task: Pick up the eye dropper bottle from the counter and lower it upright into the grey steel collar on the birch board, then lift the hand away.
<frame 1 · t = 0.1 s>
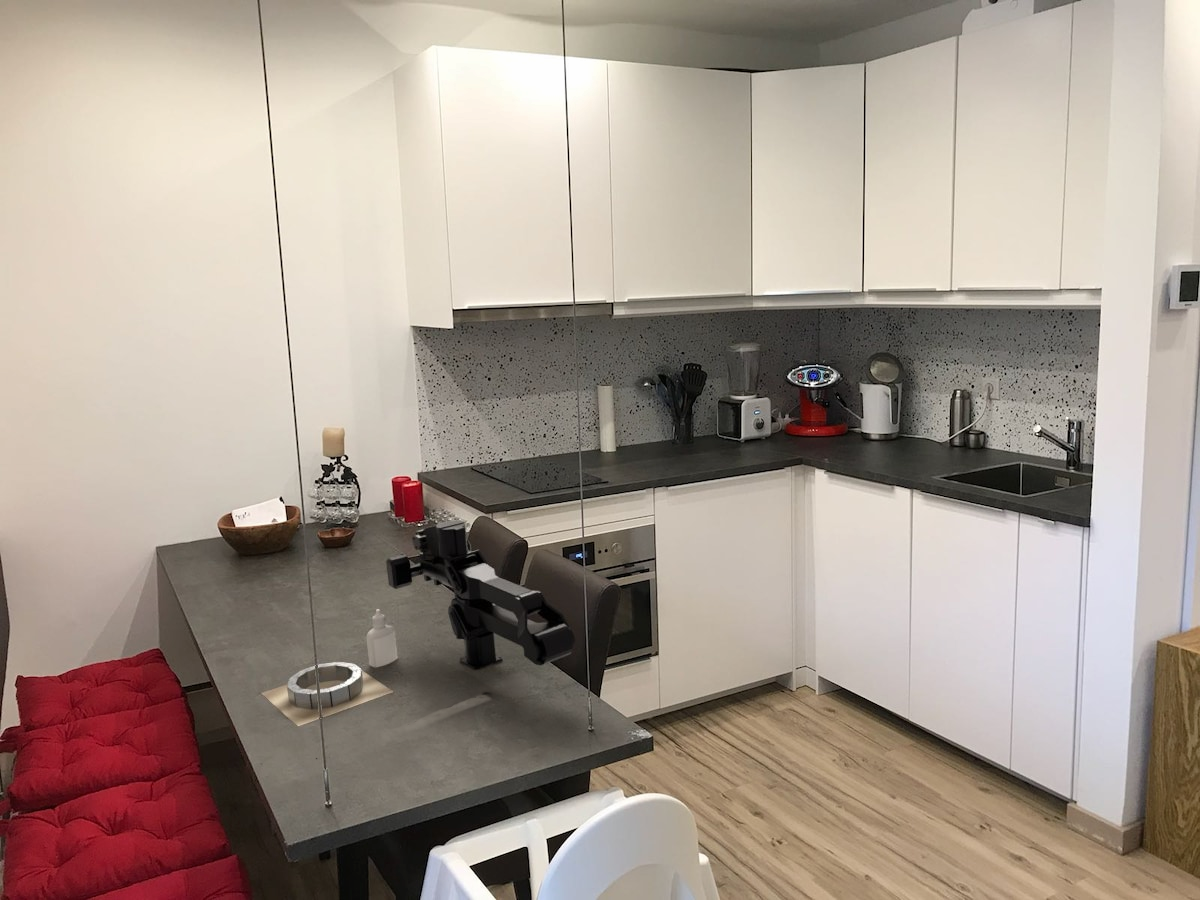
hand: (411, 555, 202), 17 cm above the table, tool horizontal, fingers open, 9 cm apart
steel collar: (326, 692, 174), resting on birch board
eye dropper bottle: (384, 667, 186), on the table
birch board: (327, 698, 174), on the table
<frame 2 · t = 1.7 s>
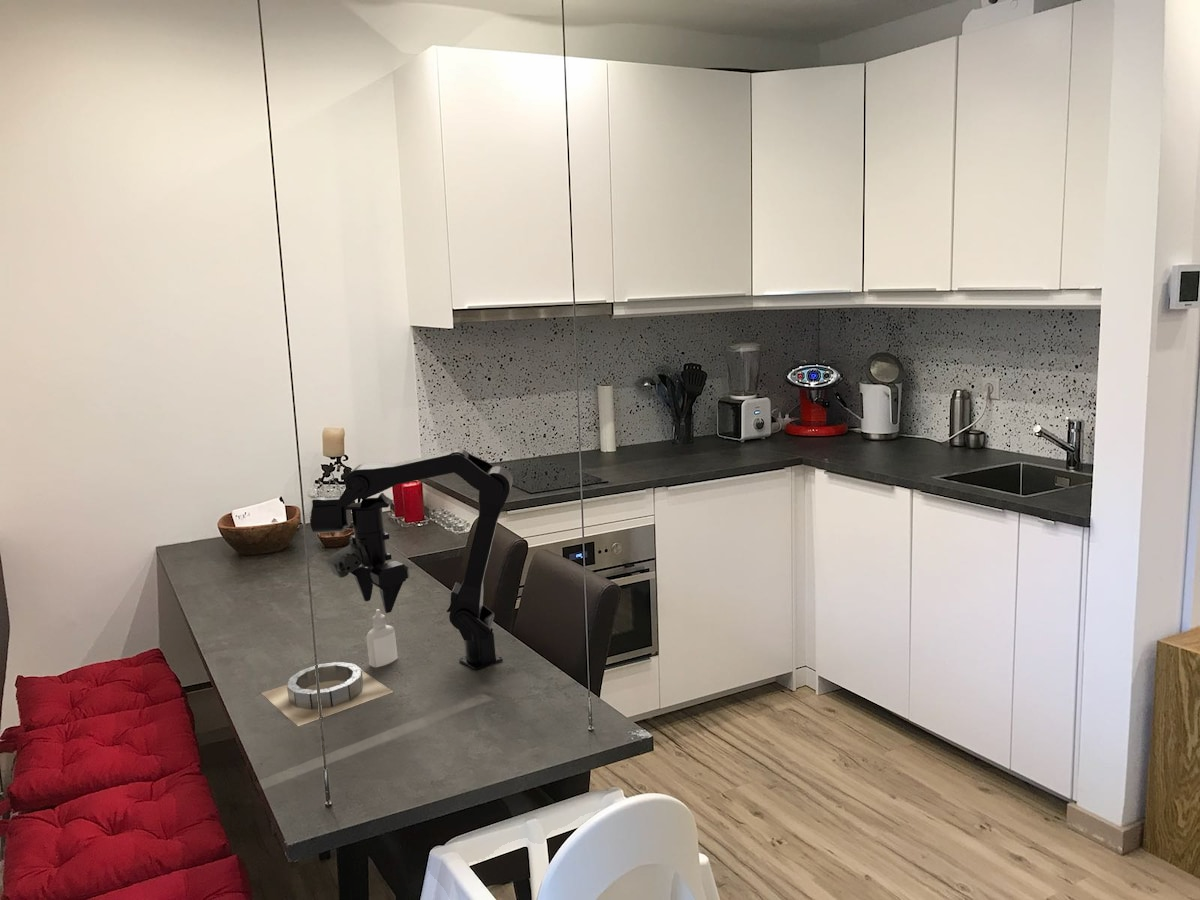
hand: (377, 606, 184), 13 cm above the table, tool pointing down, fingers open, 9 cm apart
nothing on the table moved.
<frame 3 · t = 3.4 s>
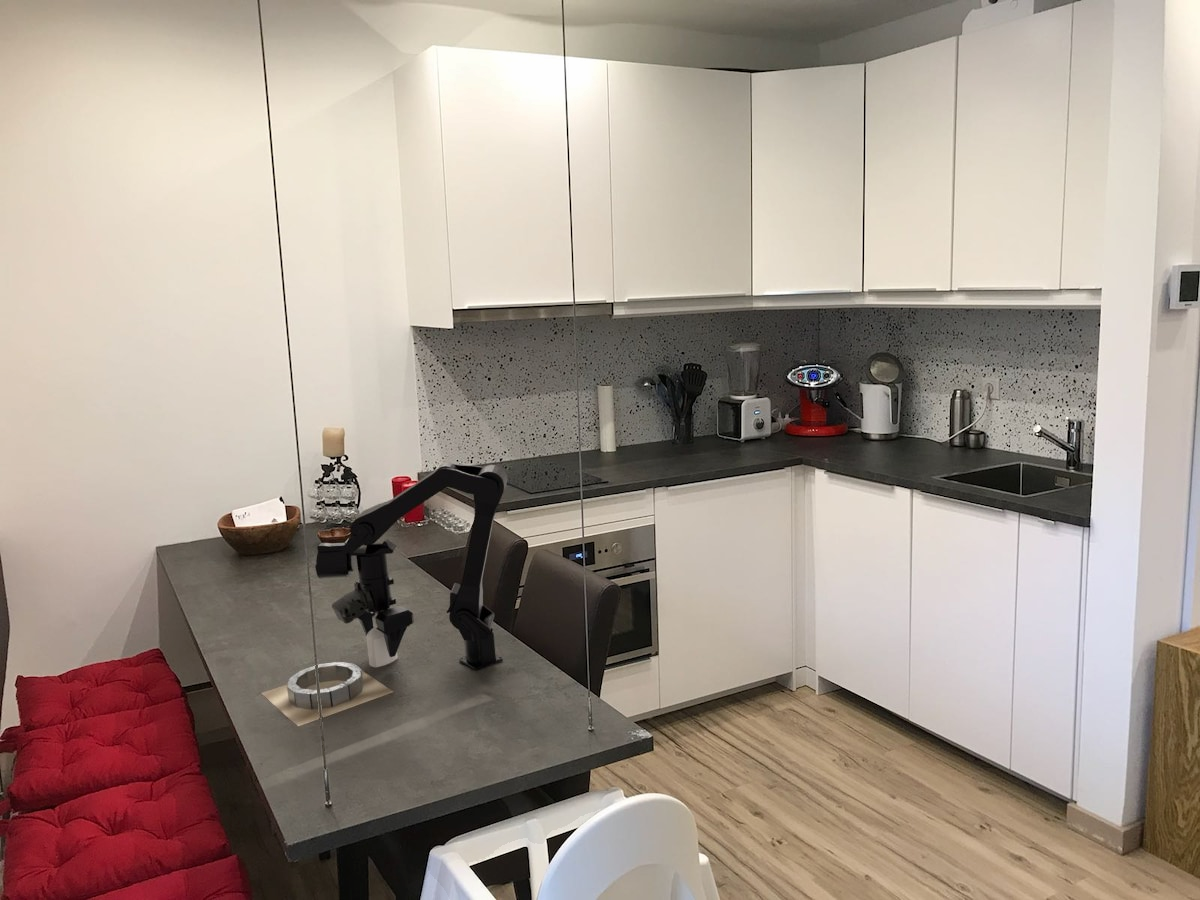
hand: (382, 650, 186), 4 cm above the table, tool pointing down, fingers closed on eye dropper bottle, 8 cm apart
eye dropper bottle: (384, 667, 186), on the table, touching gripper
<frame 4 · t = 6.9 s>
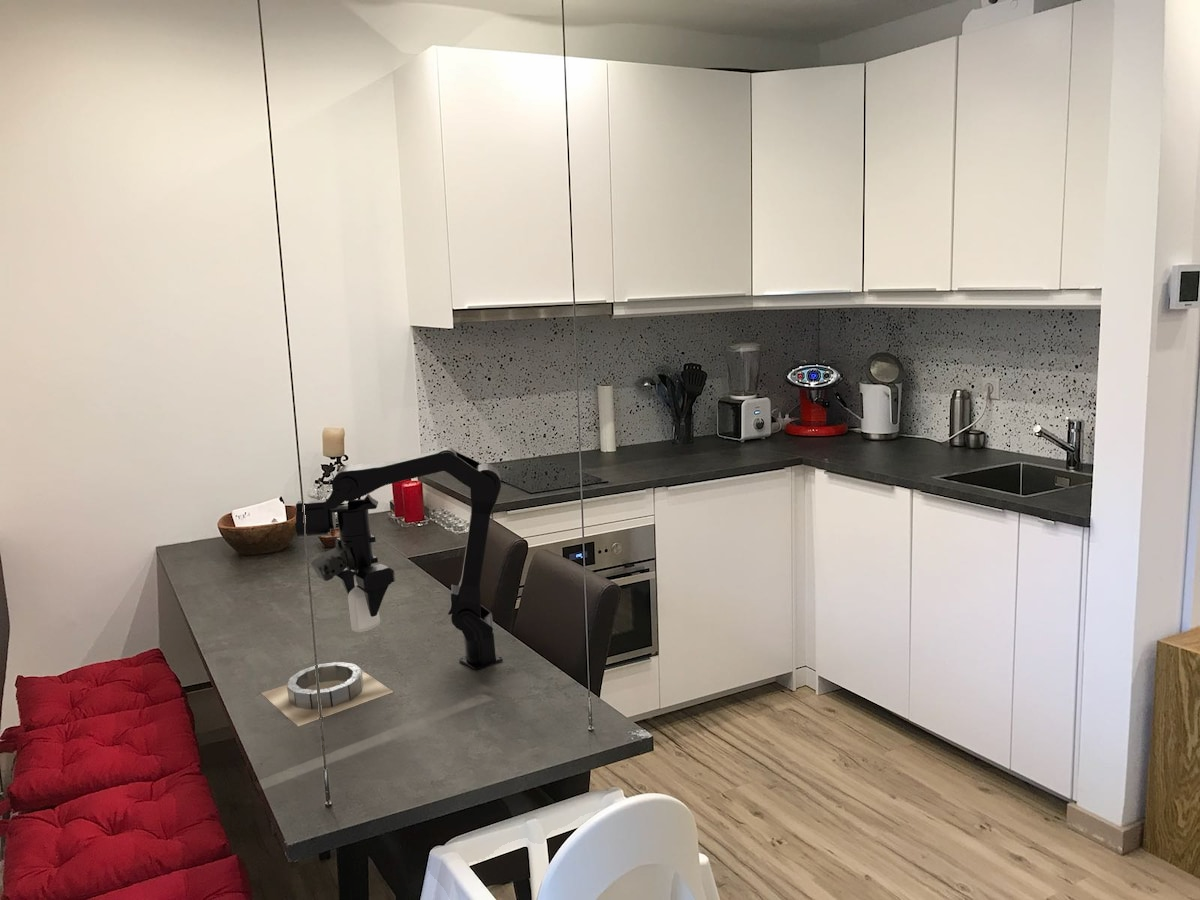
hand: (363, 610, 181), 13 cm above the table, tool pointing down, fingers closed on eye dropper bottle, 8 cm apart
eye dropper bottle: (366, 628, 182), point 9 cm above the table, touching gripper
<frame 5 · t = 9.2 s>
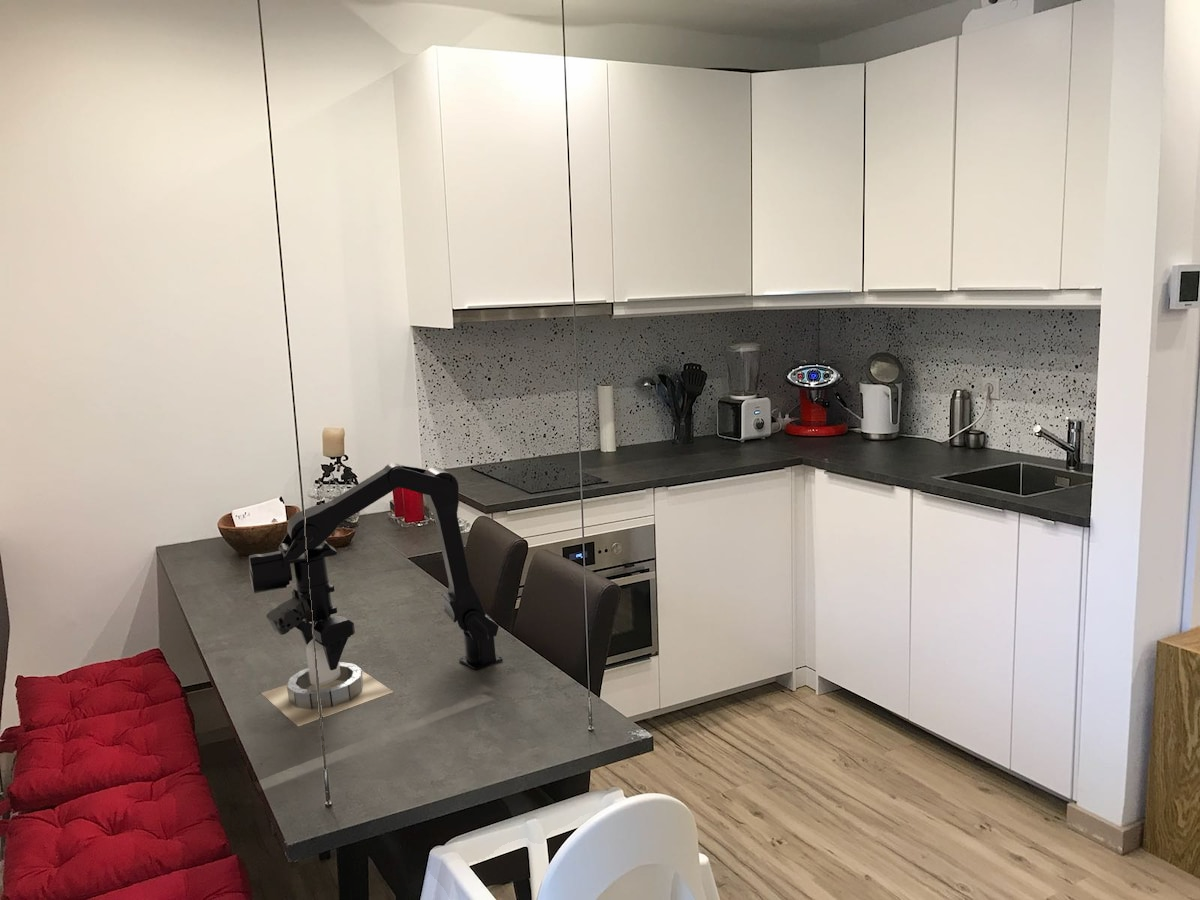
hand: (323, 662, 173), 7 cm above the table, tool pointing down, fingers closed on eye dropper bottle, 8 cm apart
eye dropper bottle: (326, 681, 173), point 3 cm above the table, touching gripper
when the fingers open (6 cm above the table, at t = 10.7 s): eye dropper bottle drops 1 cm, resting on birch board.
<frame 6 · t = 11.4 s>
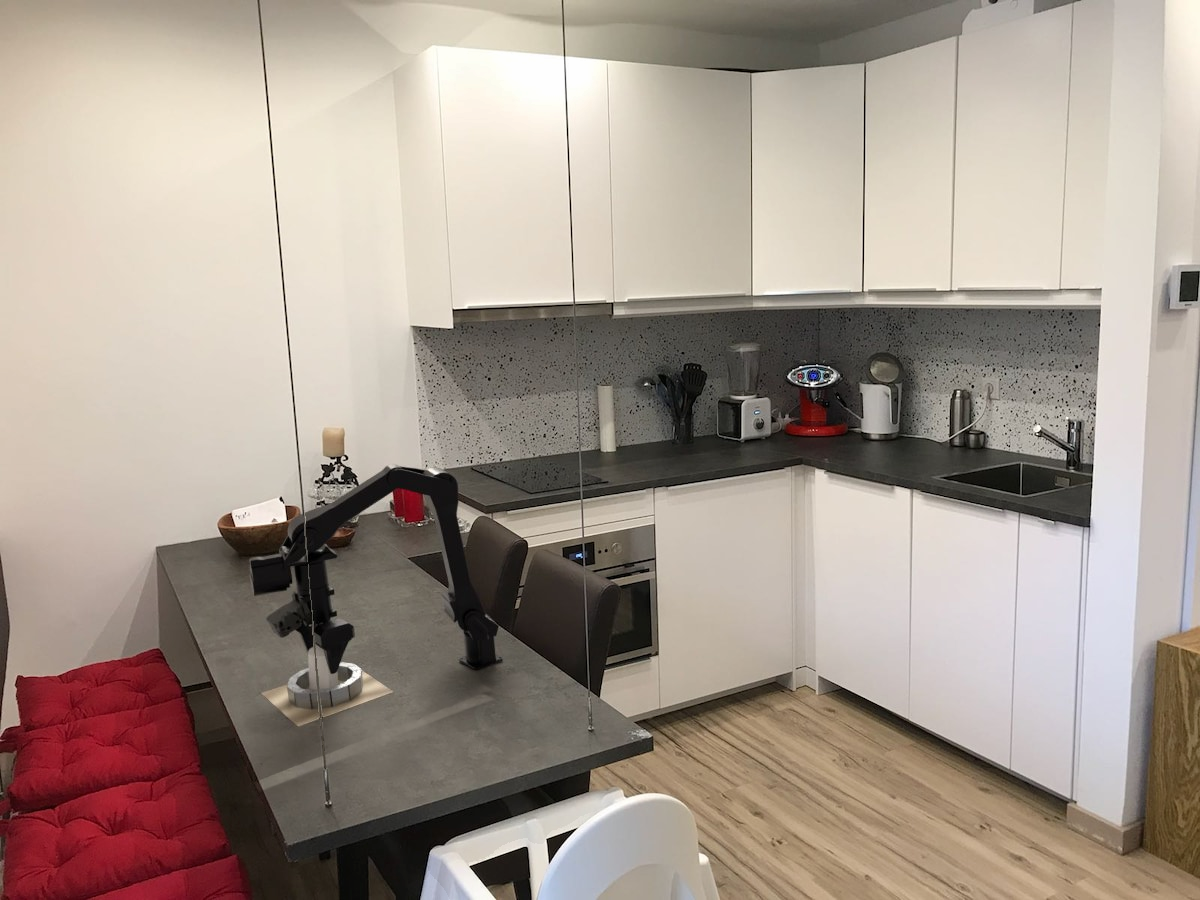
hand: (323, 665, 173), 6 cm above the table, tool pointing down, fingers open, 9 cm apart
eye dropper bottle: (324, 691, 174), point 1 cm above the table, touching birch board
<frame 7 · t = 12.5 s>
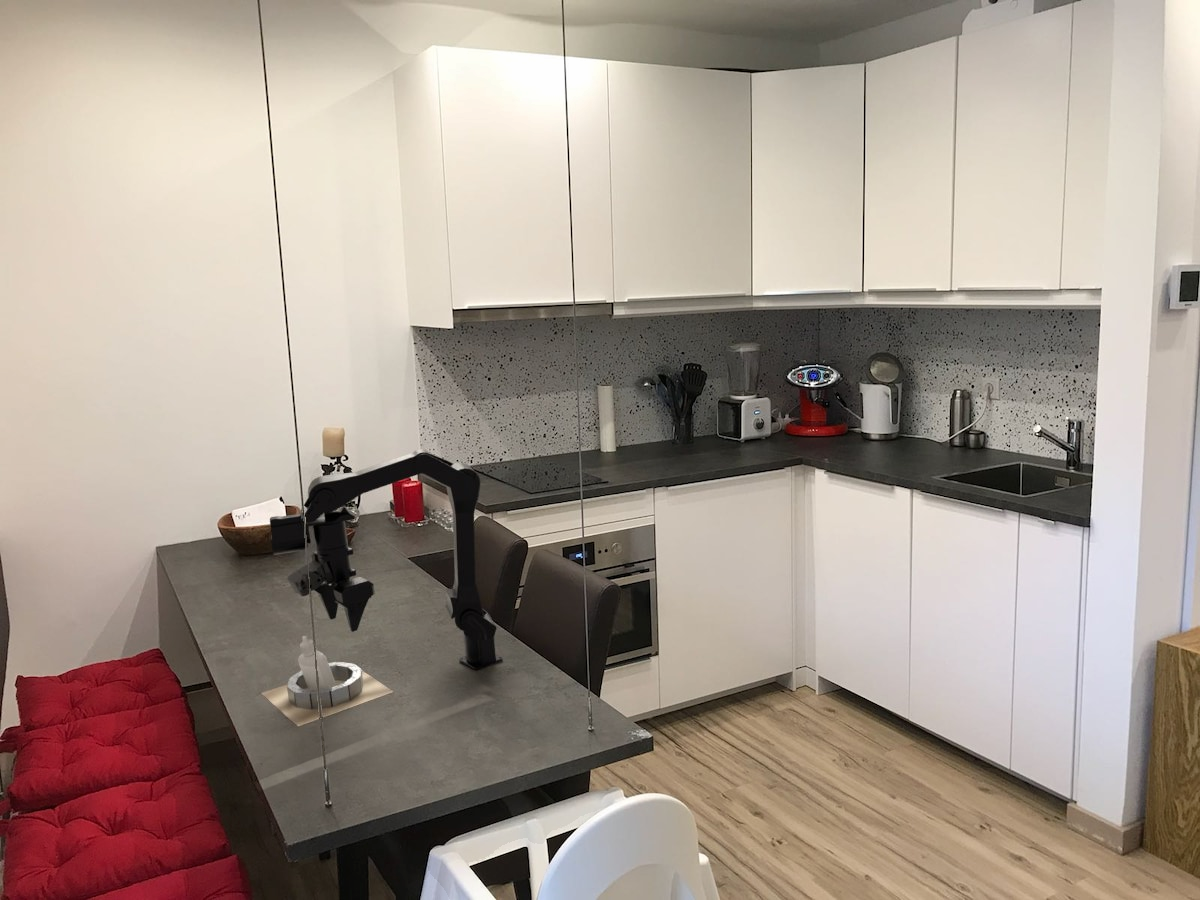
hand: (343, 624, 176), 12 cm above the table, tool pointing down, fingers open, 9 cm apart
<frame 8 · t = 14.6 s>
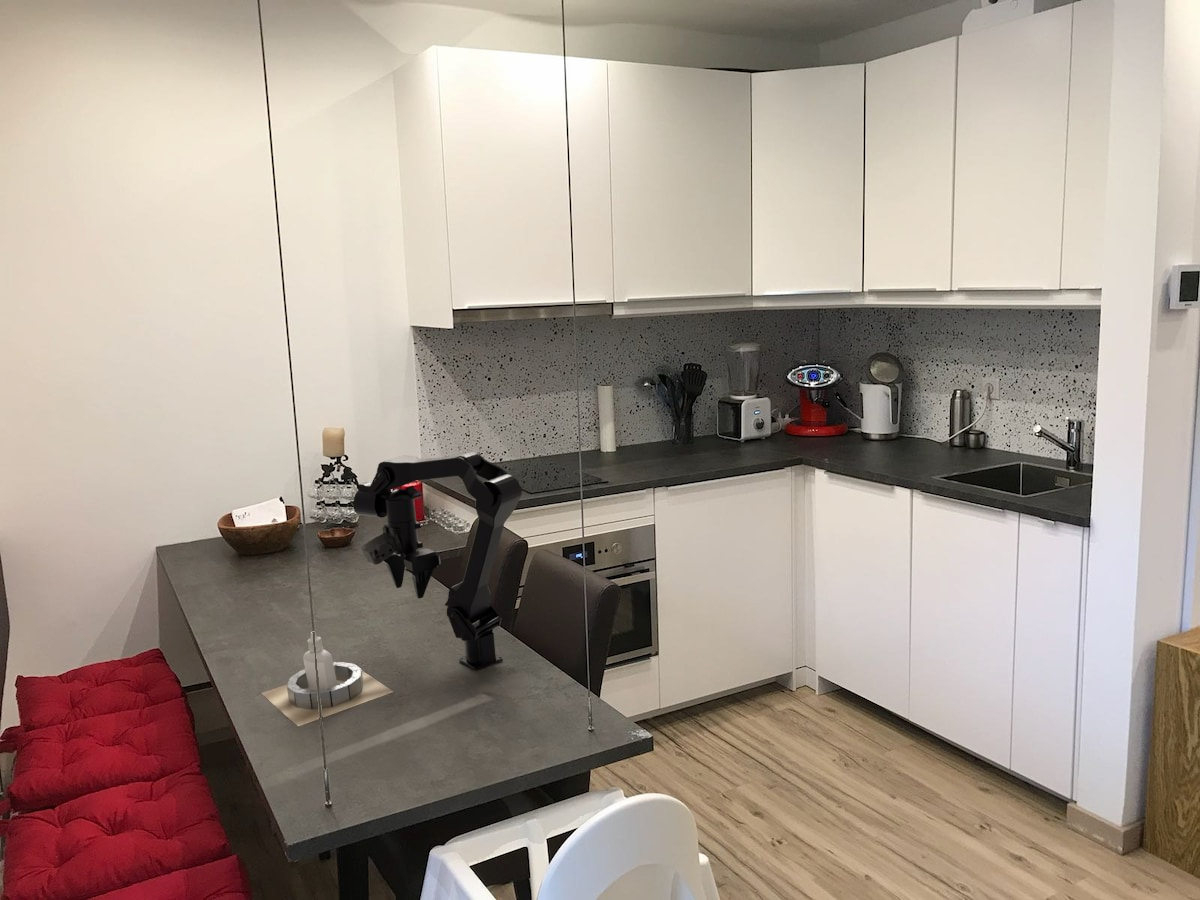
hand: (409, 592, 193), 12 cm above the table, tool pointing down, fingers open, 9 cm apart
at the end: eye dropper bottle 0.4 cm off-centre on the steel collar, point 0.0 cm above the steel collar's base; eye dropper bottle tilted 2°; the gripper is holding nothing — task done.
